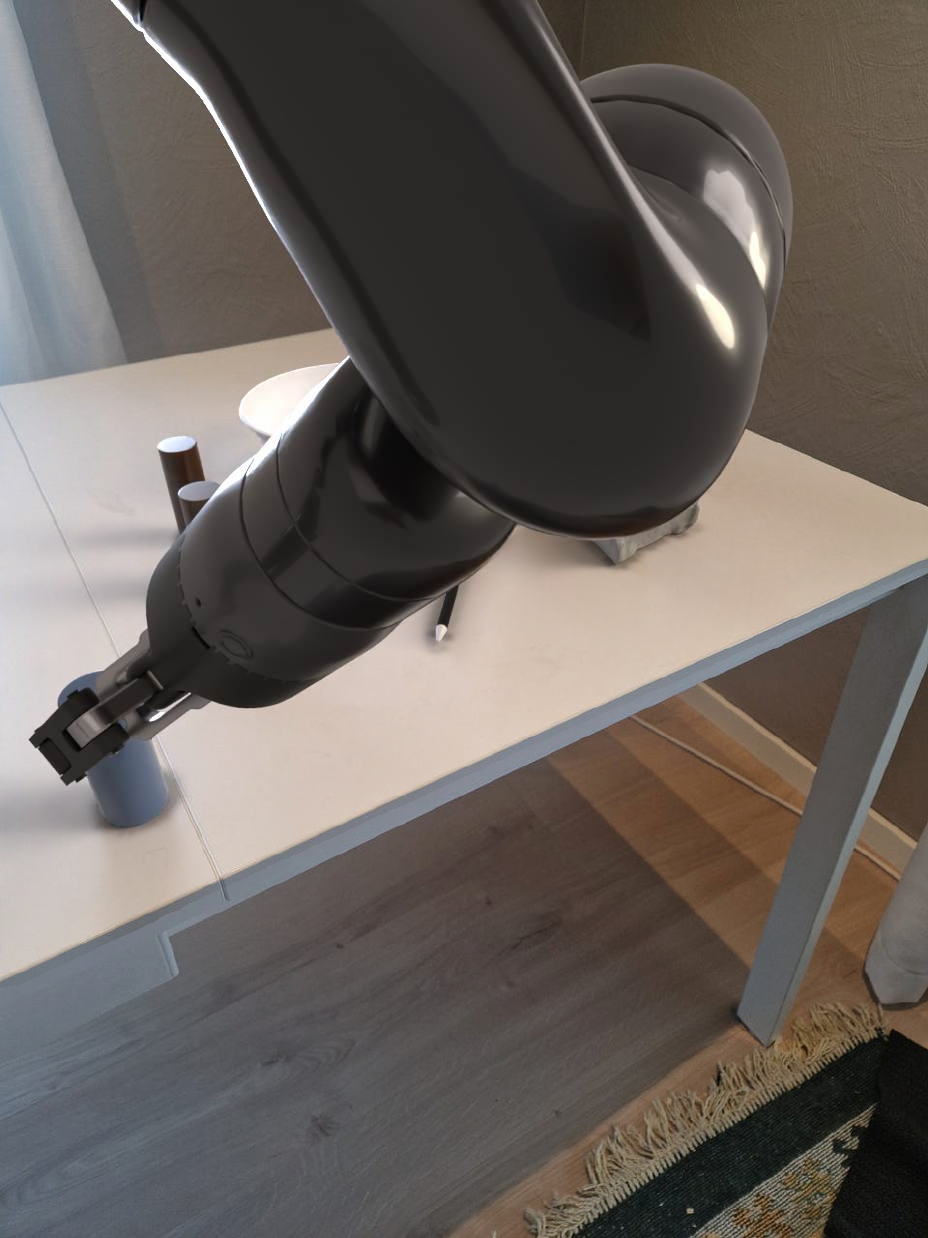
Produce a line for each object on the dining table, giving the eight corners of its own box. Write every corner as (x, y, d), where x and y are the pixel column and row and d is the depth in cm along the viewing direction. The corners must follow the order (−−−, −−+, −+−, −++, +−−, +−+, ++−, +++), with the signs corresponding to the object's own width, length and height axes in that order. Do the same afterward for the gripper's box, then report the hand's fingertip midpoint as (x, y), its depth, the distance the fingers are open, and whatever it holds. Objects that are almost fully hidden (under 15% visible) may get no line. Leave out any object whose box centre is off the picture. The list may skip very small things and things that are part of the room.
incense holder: (625, 572, 72) (638, 459, 66) (562, 529, 77) (569, 421, 71) (709, 537, 76) (729, 427, 70) (644, 498, 82) (657, 393, 75)
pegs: (206, 602, 70) (182, 504, 64) (177, 531, 78) (154, 440, 73) (245, 592, 71) (225, 495, 65) (212, 523, 79) (192, 432, 74)
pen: (479, 517, 79) (479, 506, 78) (443, 648, 64) (443, 636, 63) (469, 516, 79) (469, 506, 79) (431, 647, 64) (431, 635, 64)
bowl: (472, 434, 93) (472, 377, 89) (383, 522, 79) (378, 458, 75) (317, 405, 100) (310, 351, 96) (209, 481, 86) (195, 421, 82)
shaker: (106, 836, 51) (60, 727, 45) (97, 790, 54) (53, 682, 48) (174, 813, 52) (138, 704, 47) (163, 769, 55) (127, 661, 50)
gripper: (352, 420, 35) (213, 567, 47) (43, 590, 26) (-31, 719, 38) (462, 568, 36) (297, 676, 48) (200, 784, 27) (78, 849, 39)
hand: (152, 695), depth 43 cm, fingers open, 8 cm apart
